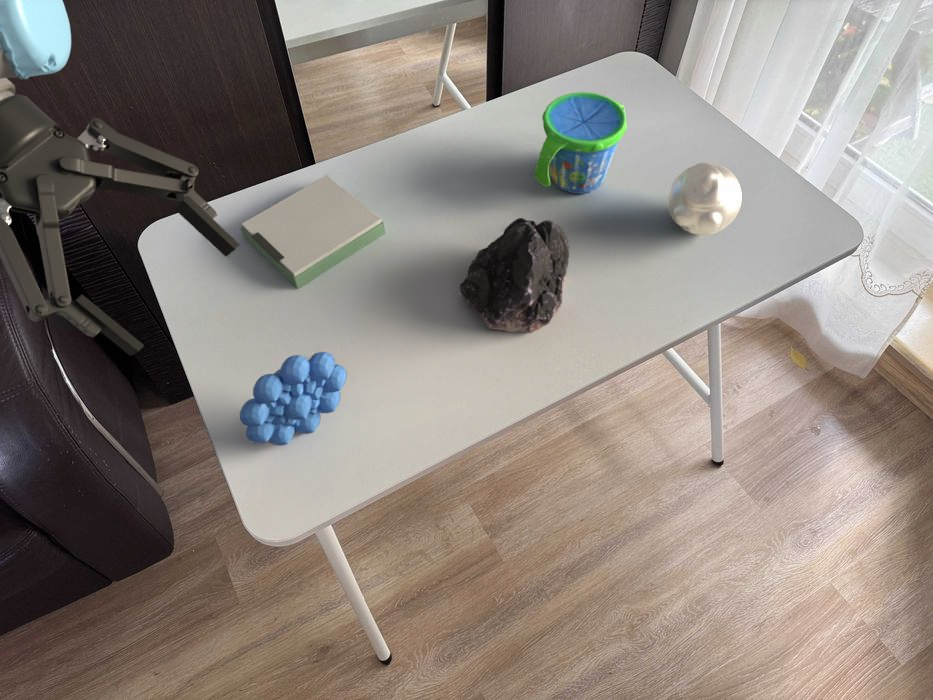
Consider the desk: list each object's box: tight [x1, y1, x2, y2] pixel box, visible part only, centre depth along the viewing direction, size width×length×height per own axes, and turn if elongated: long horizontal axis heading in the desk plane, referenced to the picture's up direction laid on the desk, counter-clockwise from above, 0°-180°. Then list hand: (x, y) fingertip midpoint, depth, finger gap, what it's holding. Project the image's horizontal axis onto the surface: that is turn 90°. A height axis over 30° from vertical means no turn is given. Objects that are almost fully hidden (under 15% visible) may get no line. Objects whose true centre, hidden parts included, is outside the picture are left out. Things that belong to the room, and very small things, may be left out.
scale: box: [240, 174, 386, 289], centre depth 93 cm, size 14×13×3 cm
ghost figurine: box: [667, 162, 743, 236], centre depth 89 cm, size 9×10×10 cm
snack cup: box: [534, 91, 628, 195], centre depth 95 cm, size 16×10×10 cm
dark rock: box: [459, 217, 570, 334], centre depth 84 cm, size 13×14×10 cm
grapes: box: [239, 351, 348, 447], centre depth 73 cm, size 12×7×12 cm, turn 122°
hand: (188, 298), depth 67 cm, fingers open, 13 cm apart
